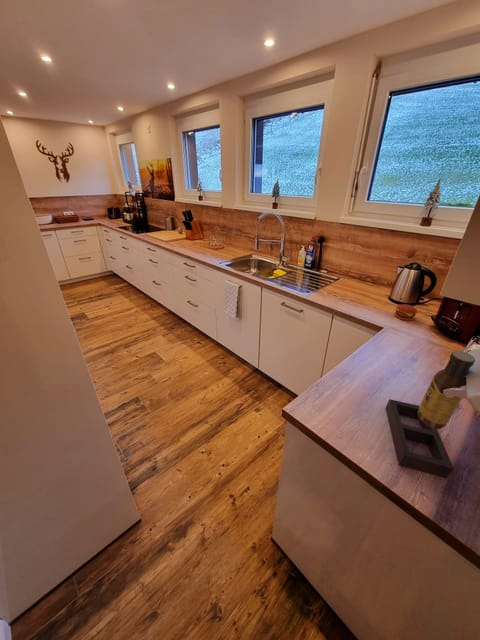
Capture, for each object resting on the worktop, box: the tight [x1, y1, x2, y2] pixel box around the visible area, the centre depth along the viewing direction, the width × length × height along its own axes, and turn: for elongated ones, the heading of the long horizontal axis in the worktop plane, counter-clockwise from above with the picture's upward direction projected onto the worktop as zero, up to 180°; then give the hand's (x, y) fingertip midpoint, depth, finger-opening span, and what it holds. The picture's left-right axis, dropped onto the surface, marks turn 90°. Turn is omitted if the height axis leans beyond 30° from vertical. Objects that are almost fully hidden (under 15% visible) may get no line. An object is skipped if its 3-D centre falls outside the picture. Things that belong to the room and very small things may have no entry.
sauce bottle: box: [418, 350, 475, 430], centre depth 61 cm, size 6×6×20 cm
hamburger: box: [393, 303, 420, 322], centre depth 137 cm, size 9×10×7 cm
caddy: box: [385, 399, 454, 479], centre depth 72 cm, size 11×20×4 cm, turn 163°
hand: (445, 383), depth 60 cm, fingers closed on sauce bottle, 6 cm apart
